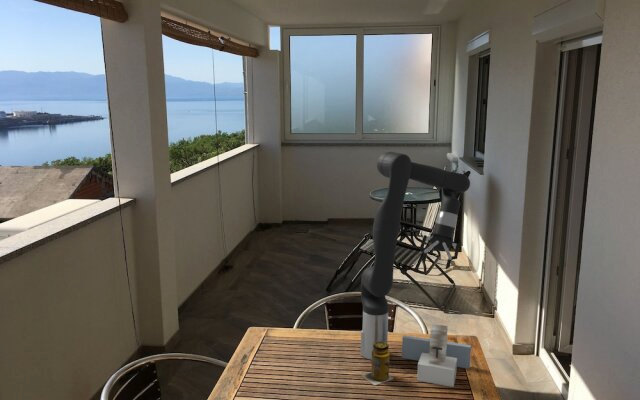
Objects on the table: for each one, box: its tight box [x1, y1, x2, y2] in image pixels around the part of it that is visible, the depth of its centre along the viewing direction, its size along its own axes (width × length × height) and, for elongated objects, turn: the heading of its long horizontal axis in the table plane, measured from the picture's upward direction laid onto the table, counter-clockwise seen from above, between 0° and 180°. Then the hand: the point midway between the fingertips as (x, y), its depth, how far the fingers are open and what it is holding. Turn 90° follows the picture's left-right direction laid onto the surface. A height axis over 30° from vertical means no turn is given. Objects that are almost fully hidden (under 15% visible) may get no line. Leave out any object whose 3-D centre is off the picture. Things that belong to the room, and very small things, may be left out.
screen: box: [401, 334, 472, 369], centre depth 195 cm, size 24×2×8 cm, turn 71°
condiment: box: [361, 342, 395, 386], centre depth 183 cm, size 7×8×12 cm
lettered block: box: [429, 323, 449, 366], centre depth 182 cm, size 5×5×12 cm
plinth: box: [416, 353, 458, 388], centre depth 184 cm, size 12×9×6 cm
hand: (435, 266), depth 205 cm, fingers open, 8 cm apart
